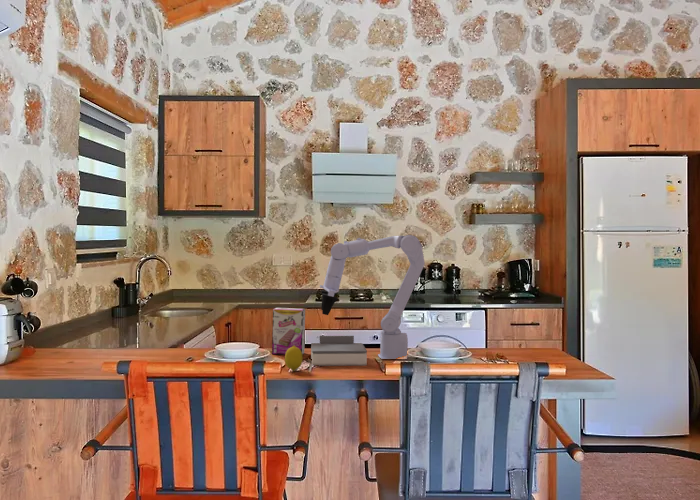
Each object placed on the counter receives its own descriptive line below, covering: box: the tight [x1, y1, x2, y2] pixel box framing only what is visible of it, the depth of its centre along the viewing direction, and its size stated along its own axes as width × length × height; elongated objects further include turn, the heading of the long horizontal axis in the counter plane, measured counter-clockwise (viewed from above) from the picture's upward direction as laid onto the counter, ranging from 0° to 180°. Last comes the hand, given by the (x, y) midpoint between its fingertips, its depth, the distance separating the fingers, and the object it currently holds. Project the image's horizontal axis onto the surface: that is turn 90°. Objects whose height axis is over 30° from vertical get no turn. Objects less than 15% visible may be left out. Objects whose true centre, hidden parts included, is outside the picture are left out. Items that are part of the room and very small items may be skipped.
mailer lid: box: [310, 335, 368, 354], centre depth 192 cm, size 18×14×3 cm
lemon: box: [284, 346, 303, 372], centre depth 177 cm, size 6×6×8 cm
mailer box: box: [310, 346, 368, 367], centre depth 192 cm, size 18×14×4 cm
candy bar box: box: [271, 307, 306, 356], centre depth 203 cm, size 11×5×16 cm, turn 84°
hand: (324, 312), depth 203 cm, fingers open, 7 cm apart
